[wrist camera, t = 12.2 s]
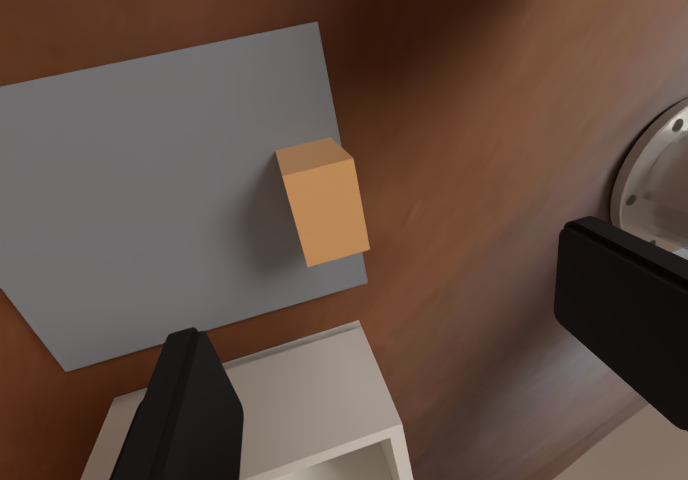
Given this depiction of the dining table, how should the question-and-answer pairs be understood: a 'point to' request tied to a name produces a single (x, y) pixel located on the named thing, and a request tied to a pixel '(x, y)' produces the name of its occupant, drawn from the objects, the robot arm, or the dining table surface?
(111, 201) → the grey board with block
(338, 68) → the dining table surface
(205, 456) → the robot arm
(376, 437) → the parts tub
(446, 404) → the dining table surface
